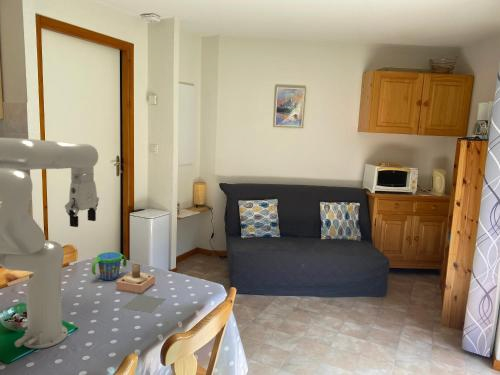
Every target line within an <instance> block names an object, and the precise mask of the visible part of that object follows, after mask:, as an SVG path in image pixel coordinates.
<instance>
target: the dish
mask: <svg viewBox="0 0 500 375" xmlns="http://www.w3.org/2000/svg"><path fill="white" fill-rule="evenodd" d="M129 273H132V271H131V272H129ZM147 274H148V273H147ZM155 284H156V275H154V274H148V280H147V281H145V282H142V283H127V282H125V281H124V276H123V277H121V278H119V279H118V280H116V281H115V290H116V291H119V292H120V291H121V292H125V293H131V294H136V295H139V294H140V295H143V294H144V293H145V292H146V291H148V290H149V289H150V288H151V287H153V286H154V285H155Z"/></svg>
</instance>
